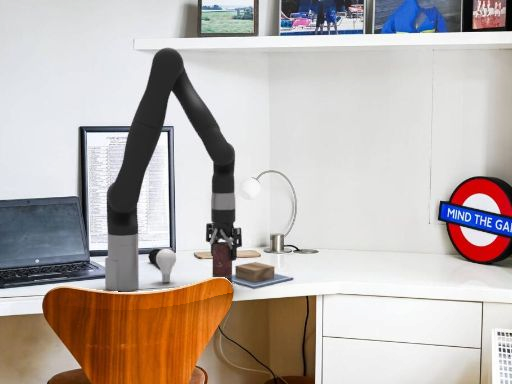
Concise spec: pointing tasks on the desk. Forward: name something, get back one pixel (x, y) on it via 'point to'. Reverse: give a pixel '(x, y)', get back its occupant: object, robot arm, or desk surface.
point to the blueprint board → (277, 279)
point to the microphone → (153, 256)
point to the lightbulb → (166, 263)
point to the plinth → (254, 272)
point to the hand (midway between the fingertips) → (223, 258)
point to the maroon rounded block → (222, 261)
